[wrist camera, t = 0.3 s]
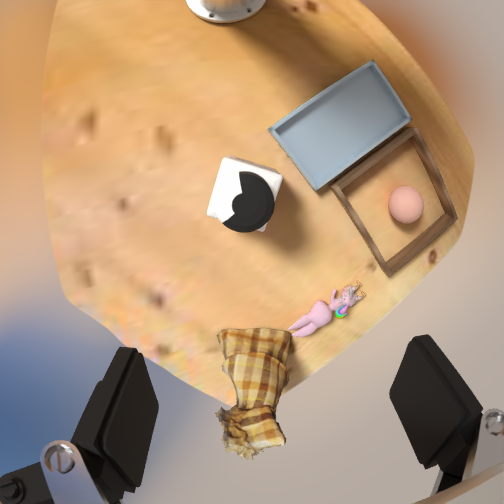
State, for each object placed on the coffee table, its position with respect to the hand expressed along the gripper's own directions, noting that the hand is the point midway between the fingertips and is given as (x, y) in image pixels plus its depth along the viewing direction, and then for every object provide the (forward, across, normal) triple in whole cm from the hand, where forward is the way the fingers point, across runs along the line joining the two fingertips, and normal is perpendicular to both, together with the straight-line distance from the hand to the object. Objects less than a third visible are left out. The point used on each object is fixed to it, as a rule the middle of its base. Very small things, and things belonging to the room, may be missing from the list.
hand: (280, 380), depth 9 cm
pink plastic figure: (+37, -13, +20) cm, 44 cm away
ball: (+36, -24, +1) cm, 44 cm away
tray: (+36, -14, -11) cm, 40 cm away
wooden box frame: (+36, -24, +1) cm, 44 cm away
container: (+36, +1, -1) cm, 37 cm away
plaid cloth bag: (+37, 0, +30) cm, 47 cm away
